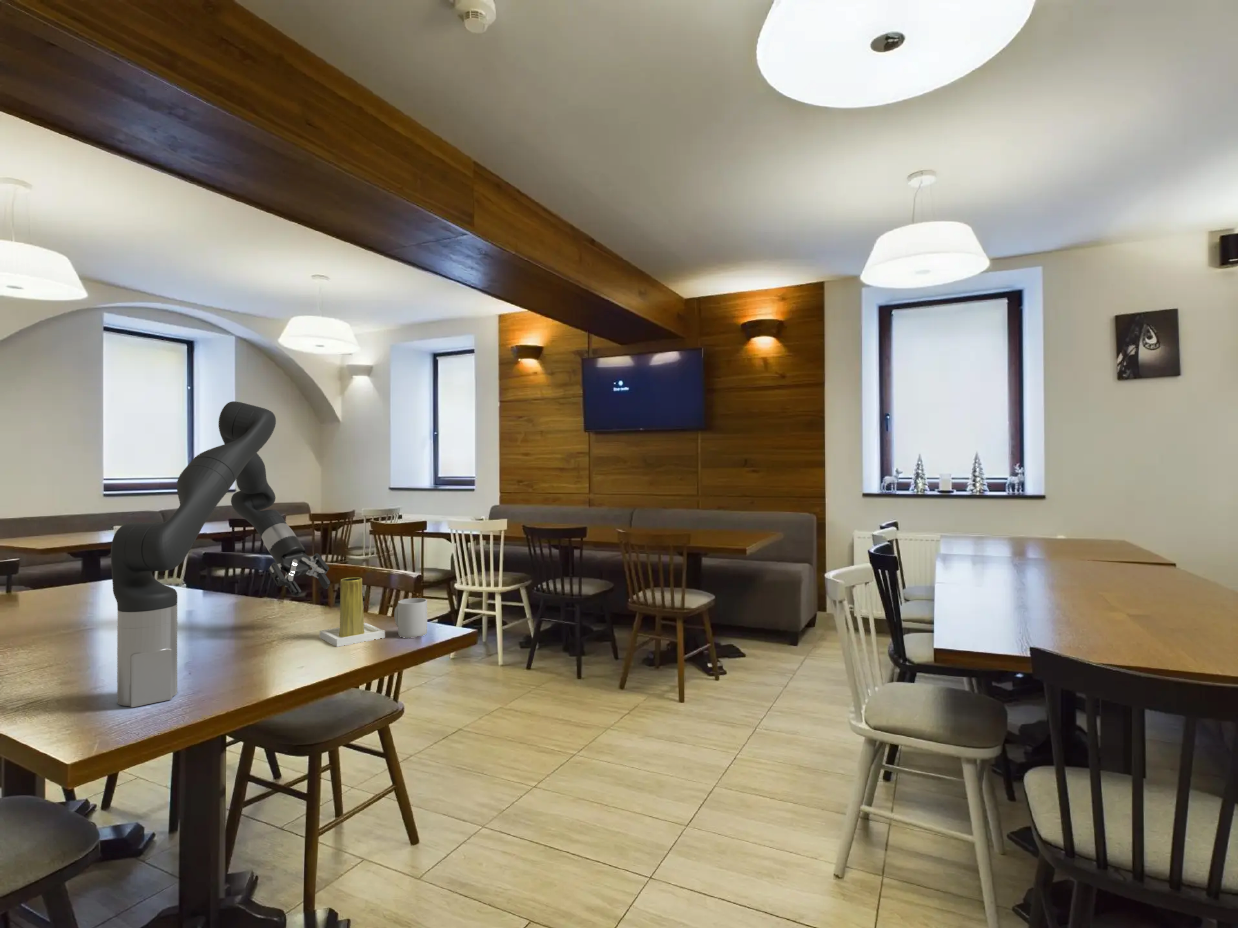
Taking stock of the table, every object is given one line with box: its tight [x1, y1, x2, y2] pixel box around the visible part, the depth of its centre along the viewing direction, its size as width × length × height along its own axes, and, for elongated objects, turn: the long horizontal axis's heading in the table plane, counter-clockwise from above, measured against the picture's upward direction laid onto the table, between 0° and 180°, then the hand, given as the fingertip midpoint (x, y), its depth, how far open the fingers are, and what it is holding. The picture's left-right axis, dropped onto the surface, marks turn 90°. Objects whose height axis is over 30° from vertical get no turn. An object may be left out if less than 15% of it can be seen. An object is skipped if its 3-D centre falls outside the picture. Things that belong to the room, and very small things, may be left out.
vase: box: [339, 577, 365, 637], centre depth 166 cm, size 6×6×14 cm
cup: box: [393, 597, 428, 639], centre depth 169 cm, size 7×10×9 cm
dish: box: [319, 622, 386, 648], centre depth 166 cm, size 12×12×2 cm
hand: (313, 590), depth 169 cm, fingers open, 8 cm apart
